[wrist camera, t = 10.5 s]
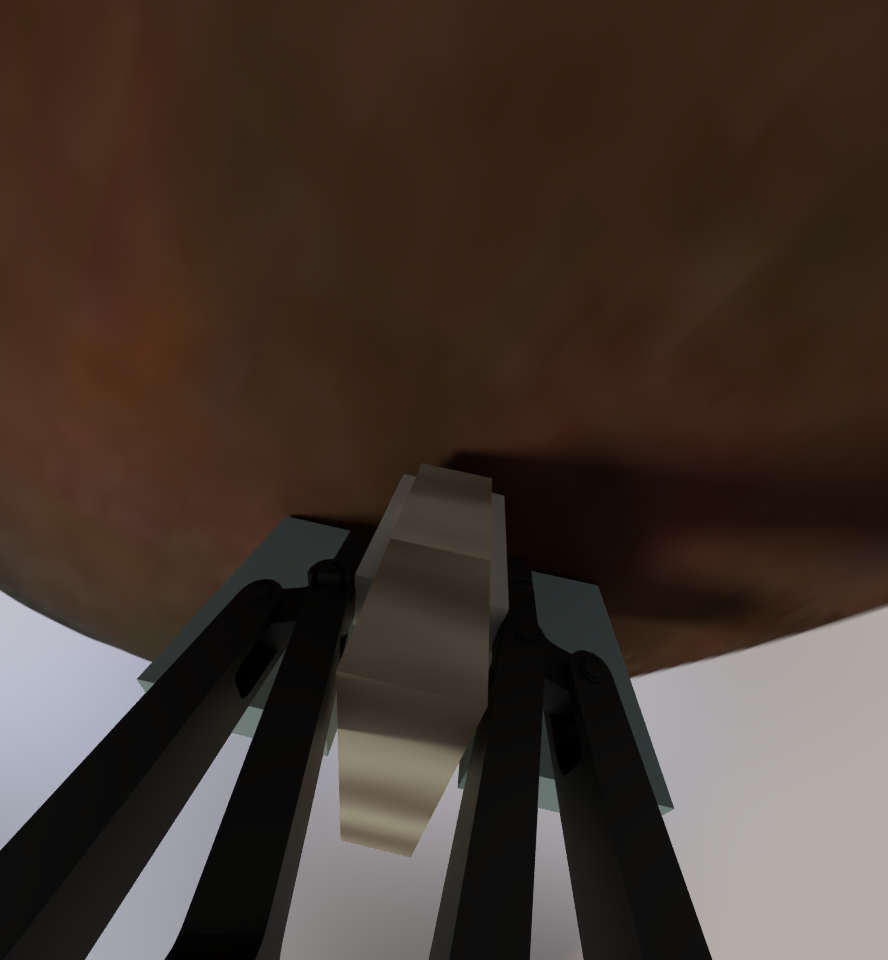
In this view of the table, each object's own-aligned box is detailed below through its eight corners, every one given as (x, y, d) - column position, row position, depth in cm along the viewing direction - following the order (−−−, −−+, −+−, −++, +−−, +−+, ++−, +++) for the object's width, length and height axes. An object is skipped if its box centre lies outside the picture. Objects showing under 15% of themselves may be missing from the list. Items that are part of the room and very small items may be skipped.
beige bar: (421, 463, 16) (335, 670, 7) (492, 478, 16) (487, 706, 7) (394, 646, 24) (340, 840, 16) (440, 656, 24) (410, 857, 16)
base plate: (289, 550, 22) (160, 715, 14) (285, 516, 20) (137, 679, 12) (579, 615, 22) (633, 830, 13) (598, 585, 20) (674, 808, 11)
